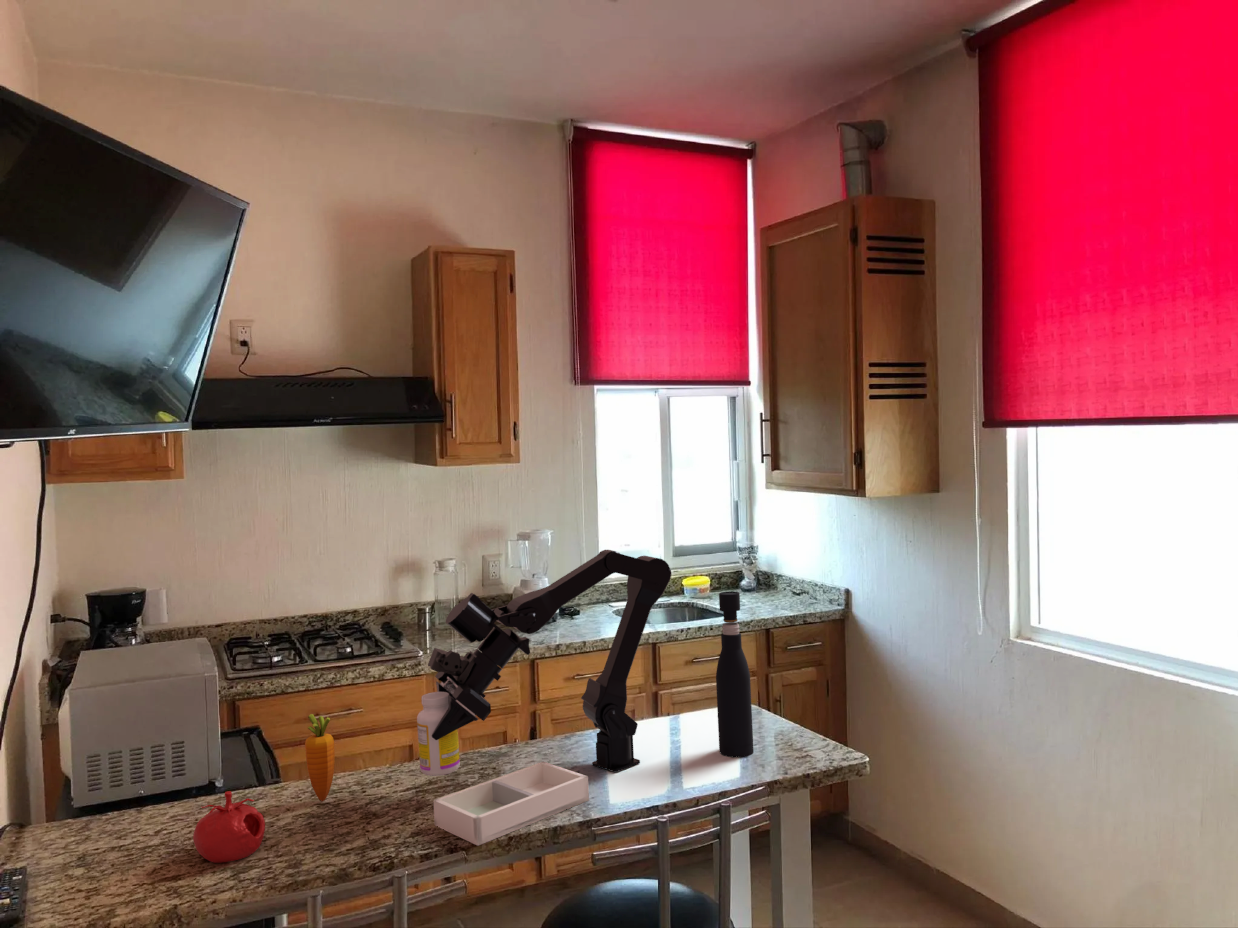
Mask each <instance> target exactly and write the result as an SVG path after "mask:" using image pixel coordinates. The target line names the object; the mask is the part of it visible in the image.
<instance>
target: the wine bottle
mask: <svg viewBox="0 0 1238 928" xmlns="http://www.w3.org/2000/svg"><path fill="white" fill-rule="evenodd" d="M740 598H741V596H740V592H738V591H721V592H719V593H718V603H719V605H718V606H719V611H720V612H723V613H722V615H723V619H722V620H723V622H724V623H722V626H721V628H722V630H721V632H722V633H721V634H720V639H721V650H720V653H719V657H718V660H717V666H716V671H715V672H716V674H715V684H716V686H715V687H716V705H717V706H716V707H717V710H716V711H717V727H718V729H717V730H718V749H719V750H718V751H719V753H720V754H721V755H722V756H725V757H728V758H729V757H730V758H743V757H744V758H745V757H749V756H751V755H752V754H753V753H754V734H753V733H754V732H753V731H754V730H753V714H752V713H753V712H752V711H753V710H752V709H753V707H752V689H751V674H750V669H749V664H748V661H747V659H746V658H747V657H746V656H745V653H744V649H743V647H742V645H743V644H742V633H740V631H741V630H740V628H741V627H740V625H739V623H738V612H739V611H741V599H740Z"/></svg>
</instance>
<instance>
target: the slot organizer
mask: <svg viewBox="0 0 1238 928" xmlns="http://www.w3.org/2000/svg"><path fill="white" fill-rule="evenodd" d="M589 791H590V789H589V776H588V775H585V774H582V773H580V772H579V773H578V772H577V771H573V770H570V769H567V768H564V767H561V766H558V765H554V764H552V763H549V762H545V761H541V762H538V763H536V764H533V765H529V766H526V767H525V768H520V769H518V770H515V771H512V772H509V773H505V774H504V775H500V776H498V777H494V778H492V779H490V780H486V781H484V782H481V783H479V784H476V785H473V786H472V785H471V786H470V787H467V788H465V789H464V788H463V789H462V790H459V791H456V792H452V793H450V794H447V795H444V796H441V797H438V798H435V799H433V818H434V819H433V820H434V821H433V822H434V826H435V827H437V826H438V827H437V828H439V827H440V828H439V829H441V830H443V829H444V831H446V832H447V833H450V834H452V835H454V836H457V837H458V838H461V839H463V840H465V841H467V842H469V843H471V844H473V845H476V846H477V847H478V846H480V845H483V844H486V843H488V842H491V841H493V840H495V839H498V838H500V837H503V836H505V835H507V834H510V833H512V832H514V831H515V832H516V831H518V830H520V829H523V828H525V827H527V826H530V825H533V824H534V823H537V822H539V821H542V820H544V819H547V818H549V817H551V816H554V815H557V814H559V813H562V812H564V811H566V809H567V810H569V809H571V807H572V808H574V807H576V806H579V805H581V804H584V803H585V802H588V801H590V793H589Z"/></svg>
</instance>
